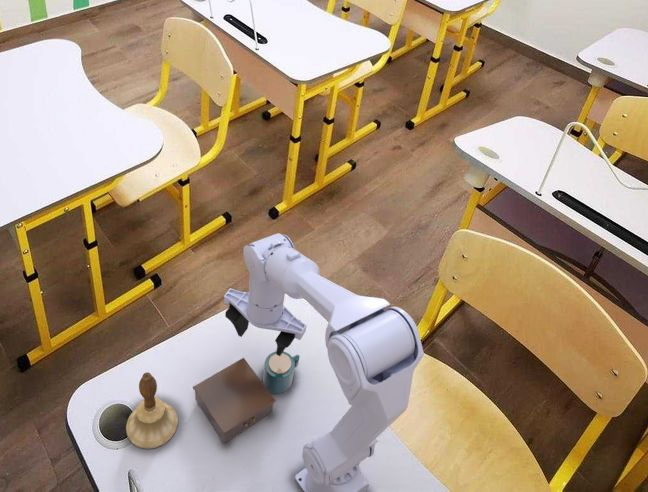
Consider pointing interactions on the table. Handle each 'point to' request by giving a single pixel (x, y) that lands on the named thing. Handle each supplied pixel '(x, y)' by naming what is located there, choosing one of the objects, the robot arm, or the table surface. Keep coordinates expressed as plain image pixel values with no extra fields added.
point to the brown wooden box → (233, 399)
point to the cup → (279, 371)
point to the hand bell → (151, 418)
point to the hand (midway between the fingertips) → (261, 341)
